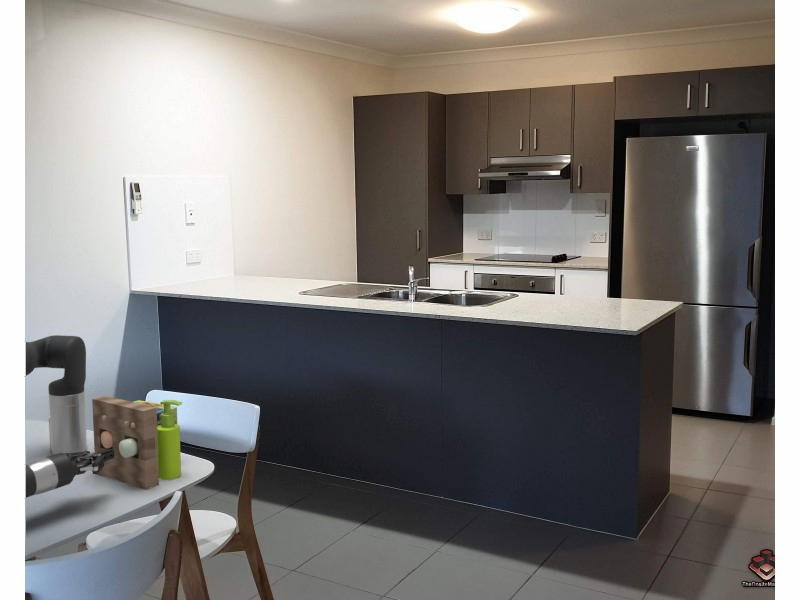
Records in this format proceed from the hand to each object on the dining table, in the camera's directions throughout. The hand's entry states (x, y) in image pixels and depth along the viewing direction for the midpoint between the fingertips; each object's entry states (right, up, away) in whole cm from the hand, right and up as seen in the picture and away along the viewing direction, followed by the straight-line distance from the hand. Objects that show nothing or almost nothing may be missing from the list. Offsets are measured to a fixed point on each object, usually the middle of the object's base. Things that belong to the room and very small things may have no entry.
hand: (112, 453), depth 186 cm
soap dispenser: (+10, -9, +13) cm, 19 cm away
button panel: (0, -9, +10) cm, 13 cm away
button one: (-5, -1, +11) cm, 12 cm away
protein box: (0, -7, +23) cm, 24 cm away
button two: (+3, -2, +4) cm, 5 cm away
